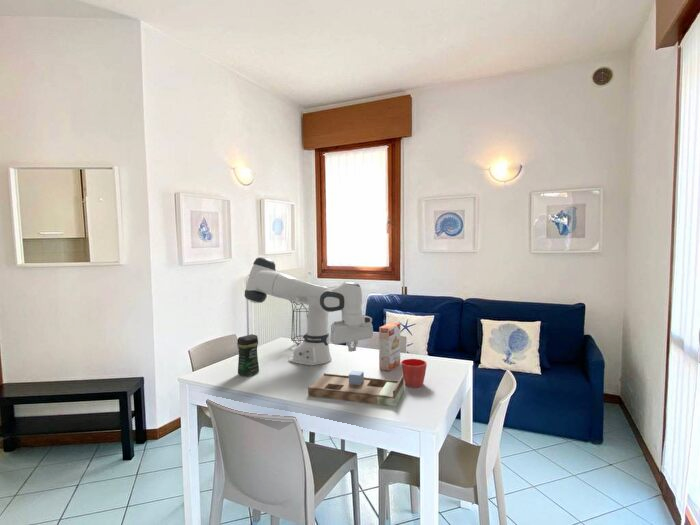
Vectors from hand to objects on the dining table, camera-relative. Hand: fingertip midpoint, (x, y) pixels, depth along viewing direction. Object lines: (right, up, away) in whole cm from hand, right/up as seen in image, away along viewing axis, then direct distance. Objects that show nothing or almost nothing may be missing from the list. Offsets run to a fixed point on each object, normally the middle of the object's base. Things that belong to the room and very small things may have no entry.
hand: (352, 351), depth 166 cm
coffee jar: (-50, -15, +18) cm, 55 cm away
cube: (+2, -12, -4) cm, 13 cm away
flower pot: (+27, -15, 0) cm, 31 cm away
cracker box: (+19, -14, +24) cm, 34 cm away
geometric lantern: (-29, -12, +67) cm, 74 cm away
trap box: (+2, -15, -8) cm, 17 cm away
